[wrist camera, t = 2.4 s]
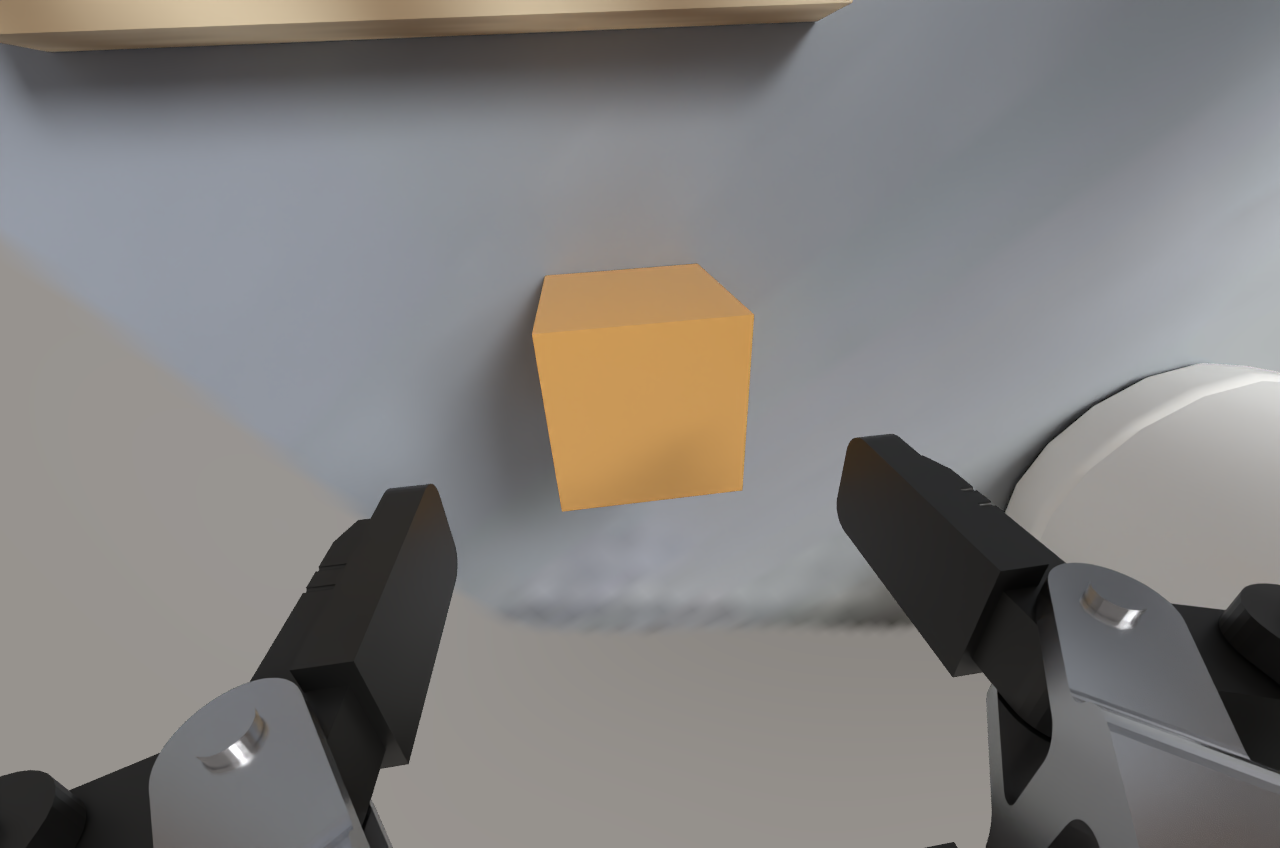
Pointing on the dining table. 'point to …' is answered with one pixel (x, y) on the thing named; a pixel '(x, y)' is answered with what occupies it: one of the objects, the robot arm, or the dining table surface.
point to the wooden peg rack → (358, 19)
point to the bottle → (1167, 484)
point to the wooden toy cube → (643, 384)
